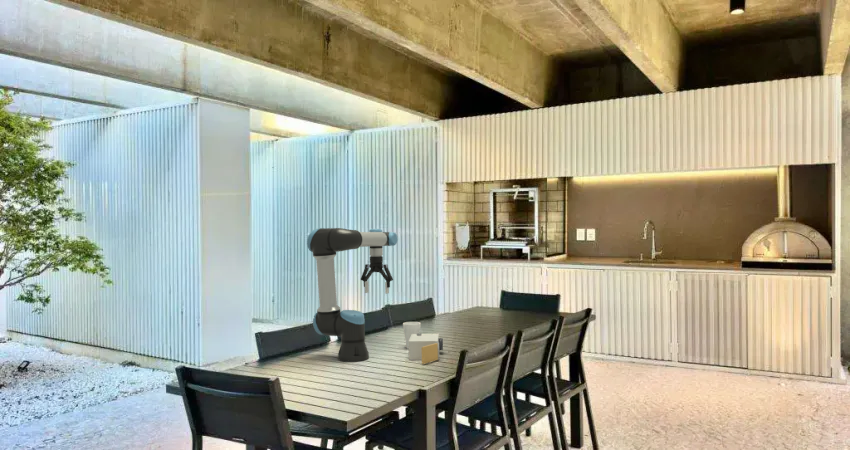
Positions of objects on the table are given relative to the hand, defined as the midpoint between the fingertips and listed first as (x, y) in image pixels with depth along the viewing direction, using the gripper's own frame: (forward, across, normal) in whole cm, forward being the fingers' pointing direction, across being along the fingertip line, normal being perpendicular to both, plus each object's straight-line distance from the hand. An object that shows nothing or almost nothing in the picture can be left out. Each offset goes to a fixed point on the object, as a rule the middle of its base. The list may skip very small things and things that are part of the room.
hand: (376, 293), depth 343 cm
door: (+27, -53, +39) cm, 71 cm away
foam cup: (+27, -28, +11) cm, 41 cm away
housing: (+27, -43, +26) cm, 57 cm away
